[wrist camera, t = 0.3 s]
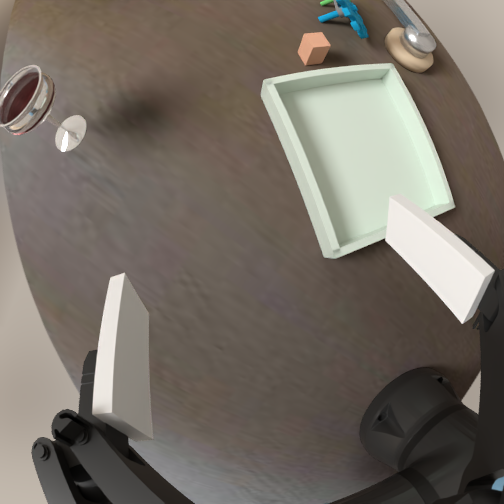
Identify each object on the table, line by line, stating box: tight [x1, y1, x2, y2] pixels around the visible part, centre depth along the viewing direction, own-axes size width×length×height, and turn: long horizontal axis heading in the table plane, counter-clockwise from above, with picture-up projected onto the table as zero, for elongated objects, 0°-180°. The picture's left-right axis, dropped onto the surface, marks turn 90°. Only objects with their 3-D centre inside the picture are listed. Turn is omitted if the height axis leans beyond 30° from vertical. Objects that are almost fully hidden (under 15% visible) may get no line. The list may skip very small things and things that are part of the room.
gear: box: [318, 0, 369, 39], centre depth 27 cm, size 11×6×10 cm
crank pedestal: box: [384, 27, 433, 73], centre depth 29 cm, size 8×8×2 cm
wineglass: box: [0, 65, 87, 151], centre depth 22 cm, size 7×7×12 cm
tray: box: [261, 63, 455, 259], centre depth 28 cm, size 20×18×4 cm
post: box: [298, 32, 331, 66], centre depth 27 cm, size 2×2×4 cm
